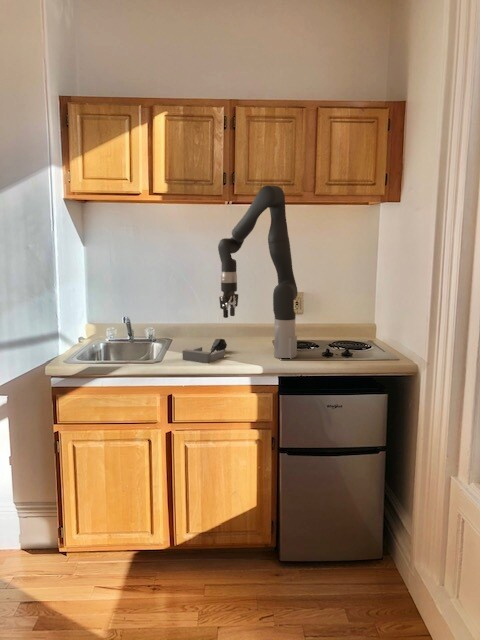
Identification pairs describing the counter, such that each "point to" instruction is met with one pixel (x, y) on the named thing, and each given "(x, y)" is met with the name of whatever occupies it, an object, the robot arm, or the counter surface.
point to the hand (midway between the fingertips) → (229, 316)
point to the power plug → (218, 345)
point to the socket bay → (202, 355)
